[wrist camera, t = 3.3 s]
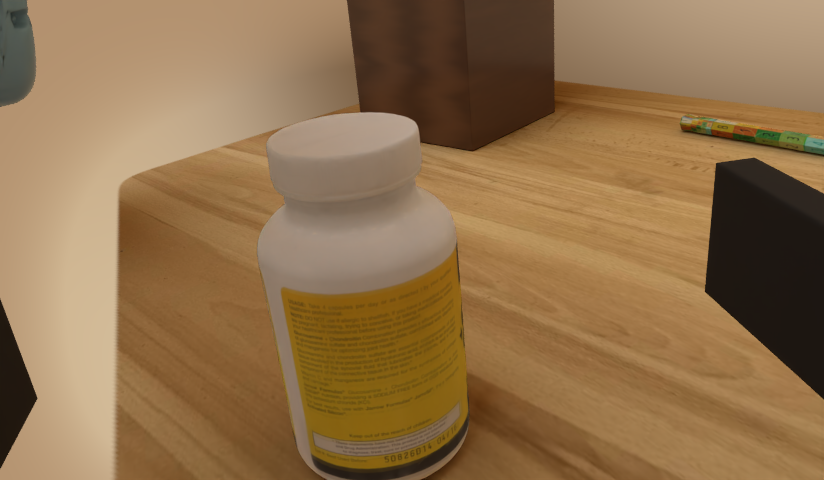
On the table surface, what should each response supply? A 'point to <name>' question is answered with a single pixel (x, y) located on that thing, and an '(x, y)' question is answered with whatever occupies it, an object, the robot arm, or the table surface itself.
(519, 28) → the tall brown block
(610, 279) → the table surface
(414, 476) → the pill bottle
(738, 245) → the robot arm
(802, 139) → the pencil
